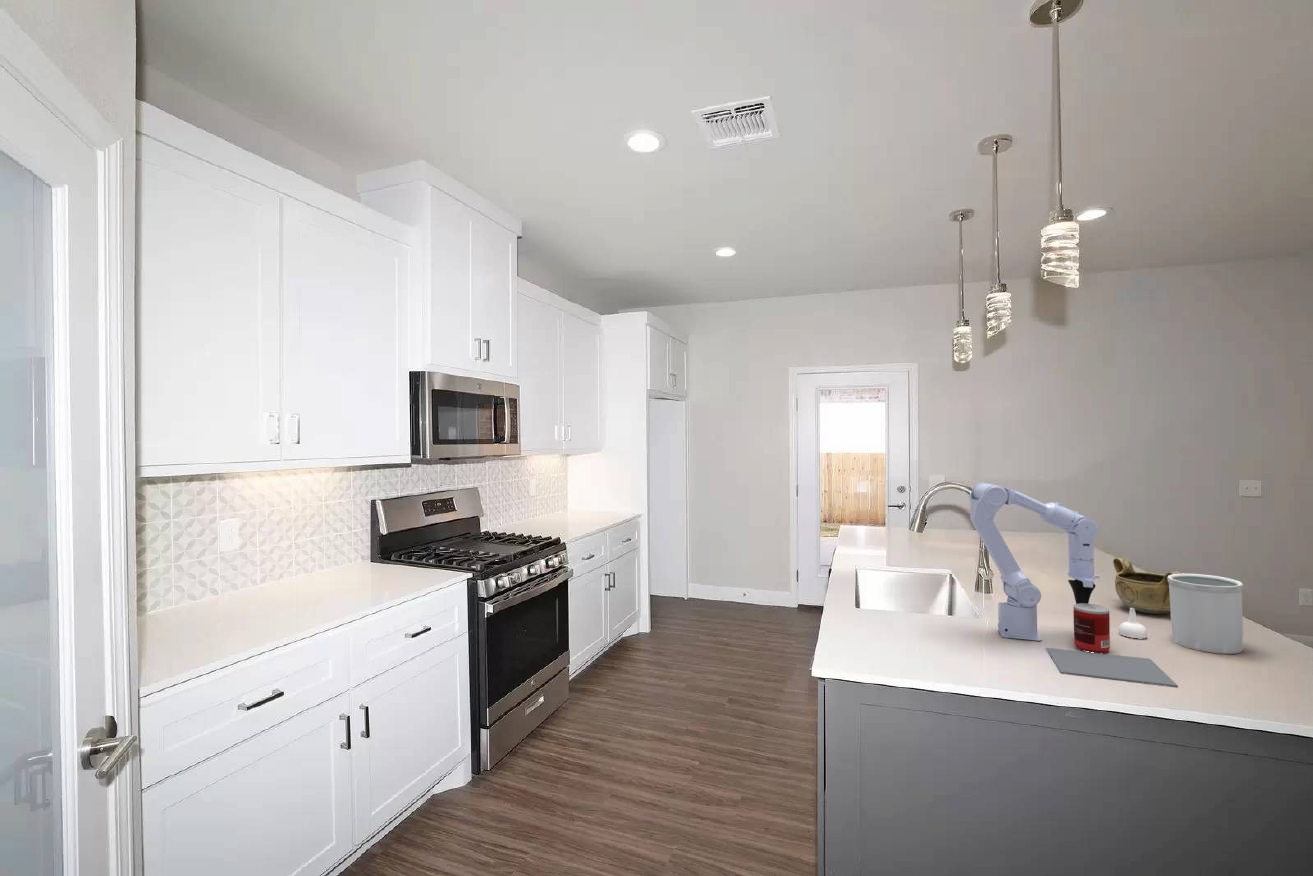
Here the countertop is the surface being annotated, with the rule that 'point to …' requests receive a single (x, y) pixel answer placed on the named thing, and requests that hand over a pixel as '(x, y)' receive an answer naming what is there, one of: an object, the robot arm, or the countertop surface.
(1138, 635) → the garlic bulb
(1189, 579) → the utensil holder
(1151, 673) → the slate mat
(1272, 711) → the countertop surface
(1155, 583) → the ceramic bowl
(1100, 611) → the canned food
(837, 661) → the countertop surface
